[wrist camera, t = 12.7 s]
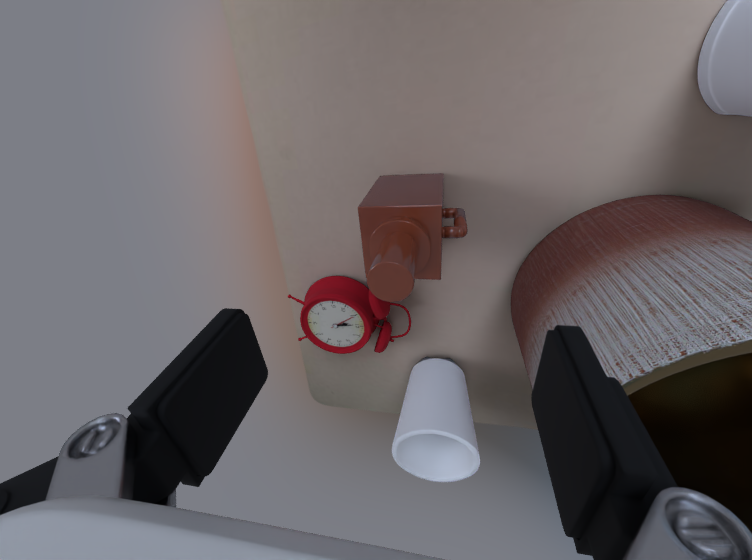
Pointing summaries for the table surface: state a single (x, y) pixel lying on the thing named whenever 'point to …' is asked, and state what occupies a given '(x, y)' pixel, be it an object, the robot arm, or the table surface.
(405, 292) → the brown handled box
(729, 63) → the jar
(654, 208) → the planter
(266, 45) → the table surface
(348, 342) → the alarm clock
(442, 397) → the cup
